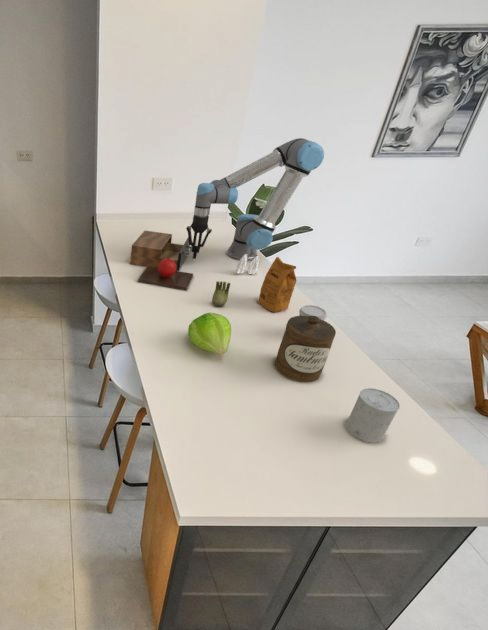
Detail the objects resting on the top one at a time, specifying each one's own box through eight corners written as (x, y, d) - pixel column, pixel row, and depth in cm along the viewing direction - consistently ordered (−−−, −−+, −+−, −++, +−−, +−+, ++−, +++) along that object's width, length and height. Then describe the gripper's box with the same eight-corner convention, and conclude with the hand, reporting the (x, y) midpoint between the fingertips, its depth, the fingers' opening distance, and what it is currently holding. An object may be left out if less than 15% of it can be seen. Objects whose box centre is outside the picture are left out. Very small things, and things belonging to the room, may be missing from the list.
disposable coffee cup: (316, 332, 171) (325, 306, 164) (320, 345, 163) (329, 318, 157) (290, 328, 173) (298, 302, 167) (293, 340, 166) (301, 314, 159)
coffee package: (272, 298, 195) (284, 254, 184) (290, 311, 185) (304, 265, 173) (253, 300, 193) (264, 256, 182) (271, 314, 183) (283, 268, 171)
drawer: (194, 254, 238) (196, 238, 232) (185, 272, 219) (187, 254, 213) (159, 249, 245) (161, 233, 240) (148, 265, 226) (149, 248, 221)
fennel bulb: (226, 305, 190) (231, 281, 184) (221, 309, 187) (226, 285, 181) (214, 301, 193) (219, 277, 187) (209, 305, 190) (214, 281, 184)
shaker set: (235, 276, 215) (240, 256, 209) (232, 273, 219) (236, 253, 213) (258, 274, 216) (262, 254, 210) (253, 271, 220) (258, 251, 214)
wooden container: (280, 380, 145) (297, 327, 134) (270, 354, 158) (285, 304, 146) (326, 384, 143) (348, 330, 132) (312, 358, 156) (330, 307, 144)
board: (192, 276, 216) (193, 273, 215) (186, 290, 202) (186, 287, 202) (147, 268, 224) (147, 266, 224) (138, 282, 211) (138, 279, 210)
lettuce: (198, 364, 153) (204, 333, 146) (180, 334, 171) (185, 305, 164) (238, 361, 155) (246, 331, 148) (217, 331, 172) (223, 302, 165)
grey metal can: (338, 419, 129) (352, 389, 123) (368, 417, 130) (383, 387, 123) (359, 444, 121) (375, 412, 115) (391, 441, 122) (408, 410, 115)
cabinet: (170, 252, 243) (172, 234, 237) (159, 269, 224) (161, 249, 218) (143, 248, 249) (144, 230, 243) (130, 264, 230) (131, 245, 224)
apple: (176, 274, 214) (179, 255, 209) (172, 281, 207) (175, 262, 202) (159, 271, 218) (161, 252, 212) (154, 278, 211) (156, 259, 205)
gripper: (215, 214, 214) (207, 257, 226) (189, 211, 219) (183, 253, 231) (213, 218, 208) (205, 262, 220) (186, 215, 213) (180, 258, 225)
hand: (194, 258), depth 226 cm, fingers closed
